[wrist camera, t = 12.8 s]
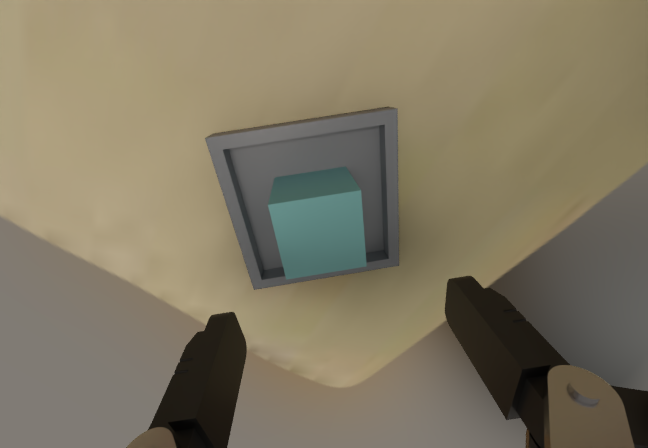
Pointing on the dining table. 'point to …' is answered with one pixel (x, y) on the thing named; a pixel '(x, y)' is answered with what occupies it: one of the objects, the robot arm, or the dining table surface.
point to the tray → (301, 157)
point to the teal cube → (318, 222)
